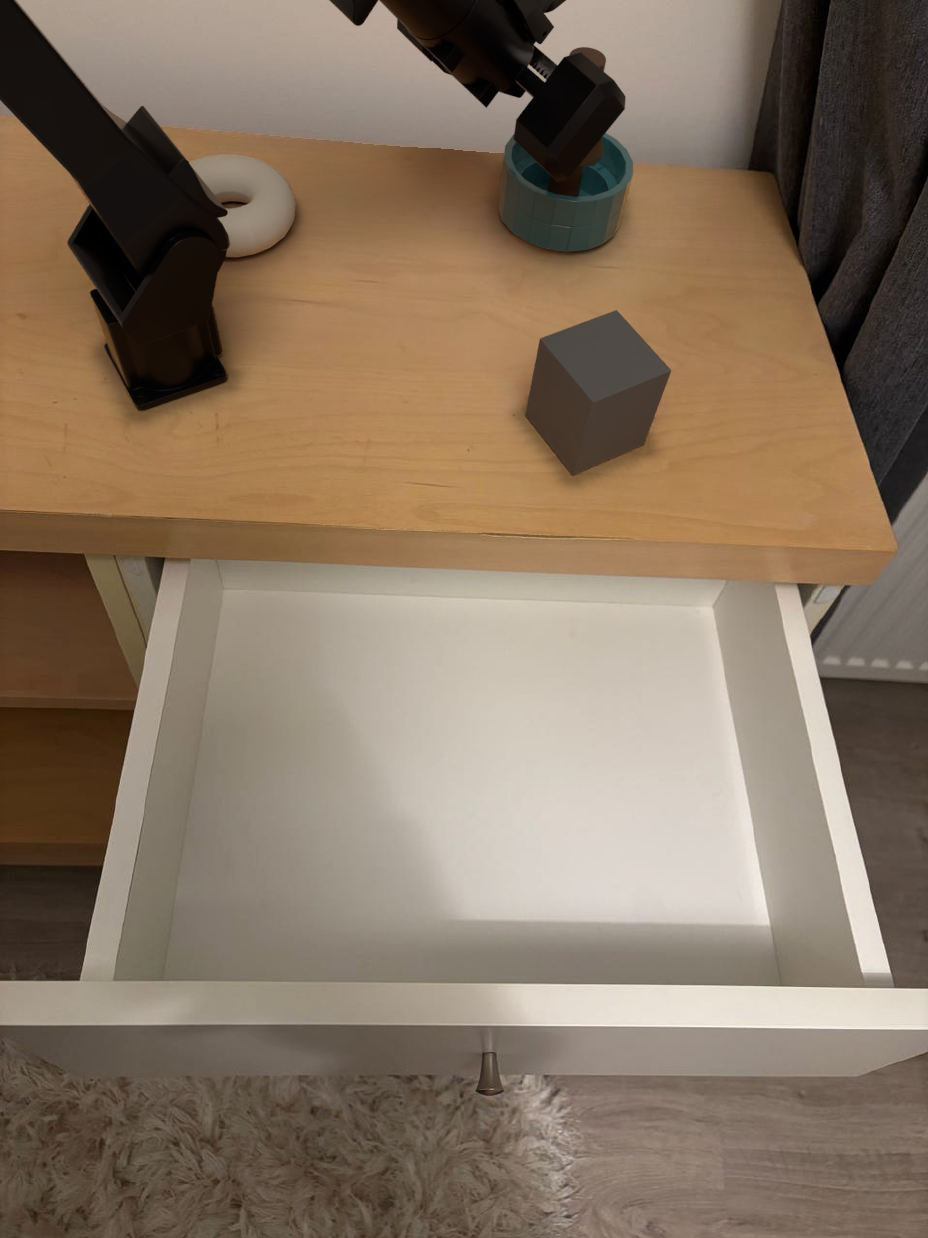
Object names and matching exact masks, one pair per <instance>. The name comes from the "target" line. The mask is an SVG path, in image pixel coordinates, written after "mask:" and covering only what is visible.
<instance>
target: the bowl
mask: <svg viewBox="0 0 928 1238" xmlns="http://www.w3.org/2000/svg"><path fill="white" fill-rule="evenodd" d="M601 139H602V144H603V150H604V154H603V156H602V157H601V158H600V160H599V161H598V162H597V163H596V164H595V165H594V166H585V167H584V172H583V177H582V182H581V187H580V192H579V197H573V196H566V195H558V194H554V193H552V192H549V191H546V190H547V184H548V178H549V173H548V172H547V171H545V170H544V169H543V168H542V167H541V166H540V165H539V164H538V163H537V162H536V161H535V160H534V159H533V158H532V157H531V156H530V155H529V154H528V153H527V152H526V151H525V150H524V149H523V148H522V147H521V146H520V145H519V144H518V143H517V142H516V141H515V140H514V133H513V134H512V135H511V136H510V138H509V139H508V141H507V142H506V143H505V146H504V150H503V160H502V168H501V177H500V183H499V184H500V185H499V193H498V201H497V210H498V212H499V216H500V219H501V222H502V223H503V224H505V226H506V227H507V228H508V229H509V230H510V232H511V233H512V234H514V235H515V236H517V237H518V238H519V239H521V240H523V241H525V242H527V243H528V244H531V245H534V246H536V247H540V248H543V249H546V250H552V251H560V252H567V253H568V252H578V251H588V250H591V249H593V248H597V247H599V246H602V245H603V244H604V243H606V242H607V241H609V240H610V239H611V238H613V237H614V236H615V235H616V234H617V231H618V230H619V228H620V226H621V223H622V219H623V216H624V212H625V207H626V203H627V201H628V196H629V192H630V188H631V185H632V180H633V176H634V161H633V159H632V157H631V155H630V153H629V151H628V149H627V148H626V147H625V146H624V145H623V144H622V143H621V142H620V141H619V140H618V139H617V138H615V137H614V136H612V135H610V134H608V133H607V132H606V133H605V134H604V135H603V137H602V138H601Z"/></svg>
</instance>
